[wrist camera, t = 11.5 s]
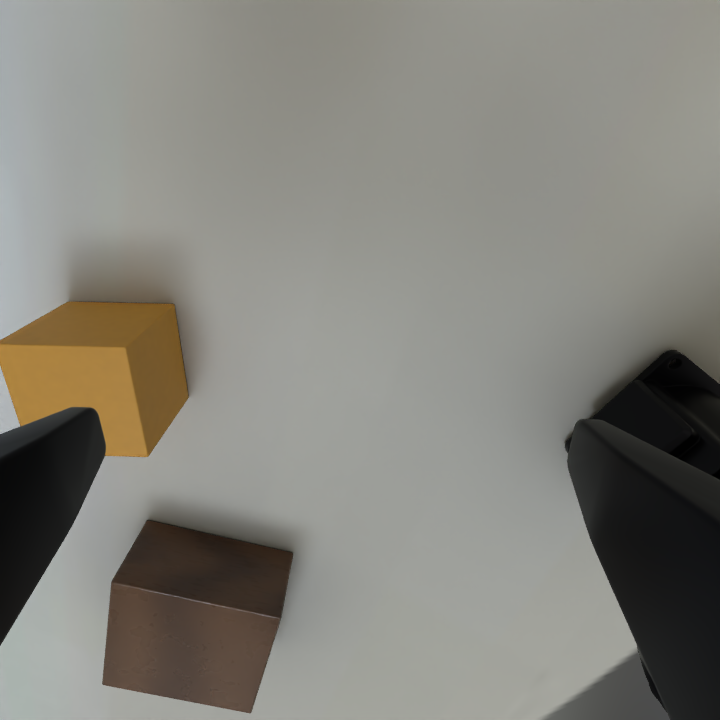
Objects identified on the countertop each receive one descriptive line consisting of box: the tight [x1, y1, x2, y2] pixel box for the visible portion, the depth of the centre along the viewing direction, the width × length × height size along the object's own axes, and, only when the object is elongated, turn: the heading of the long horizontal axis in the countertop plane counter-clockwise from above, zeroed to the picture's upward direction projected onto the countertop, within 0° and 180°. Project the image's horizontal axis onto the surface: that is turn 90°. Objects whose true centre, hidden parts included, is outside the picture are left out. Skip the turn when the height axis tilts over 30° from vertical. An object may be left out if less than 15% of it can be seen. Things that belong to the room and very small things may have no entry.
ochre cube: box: [0, 302, 189, 457], centre depth 20 cm, size 5×5×5 cm
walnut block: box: [102, 520, 293, 713], centre depth 26 cm, size 8×8×4 cm
